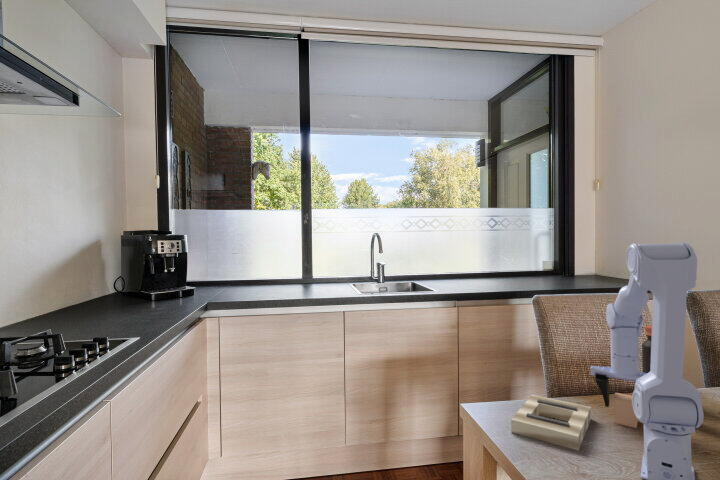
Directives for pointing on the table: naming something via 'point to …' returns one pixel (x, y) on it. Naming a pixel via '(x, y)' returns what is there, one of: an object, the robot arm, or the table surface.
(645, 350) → the vinegar
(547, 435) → the slotted wooden holder
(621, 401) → the block
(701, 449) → the table surface
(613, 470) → the table surface
